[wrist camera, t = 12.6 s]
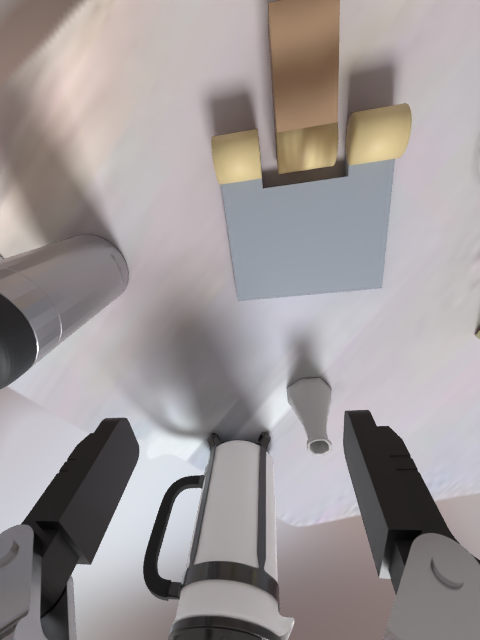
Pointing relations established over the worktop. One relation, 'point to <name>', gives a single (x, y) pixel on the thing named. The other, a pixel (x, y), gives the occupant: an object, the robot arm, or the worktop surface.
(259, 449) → the coffee press
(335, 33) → the tan wooden beam
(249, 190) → the grey flat piece
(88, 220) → the worktop surface
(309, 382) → the flask
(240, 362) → the worktop surface
